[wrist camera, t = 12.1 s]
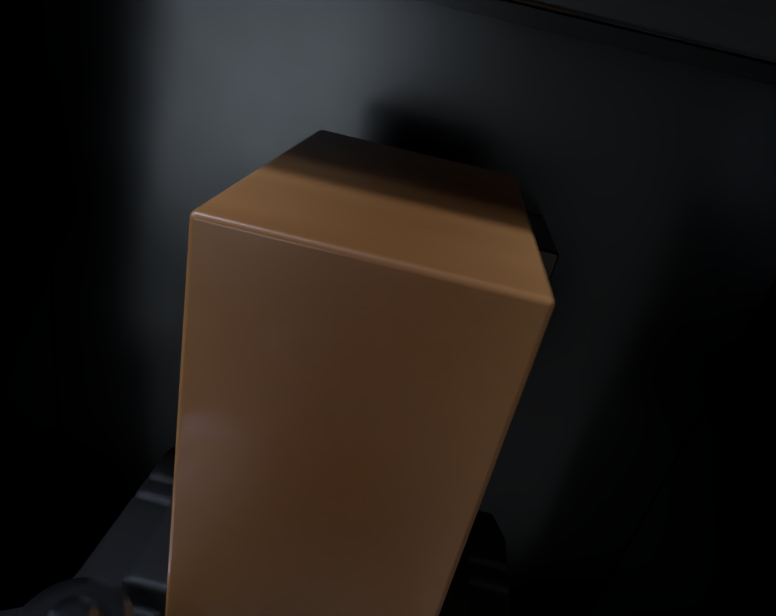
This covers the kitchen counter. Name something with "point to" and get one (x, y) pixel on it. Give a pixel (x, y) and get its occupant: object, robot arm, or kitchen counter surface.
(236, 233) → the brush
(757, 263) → the black open box
